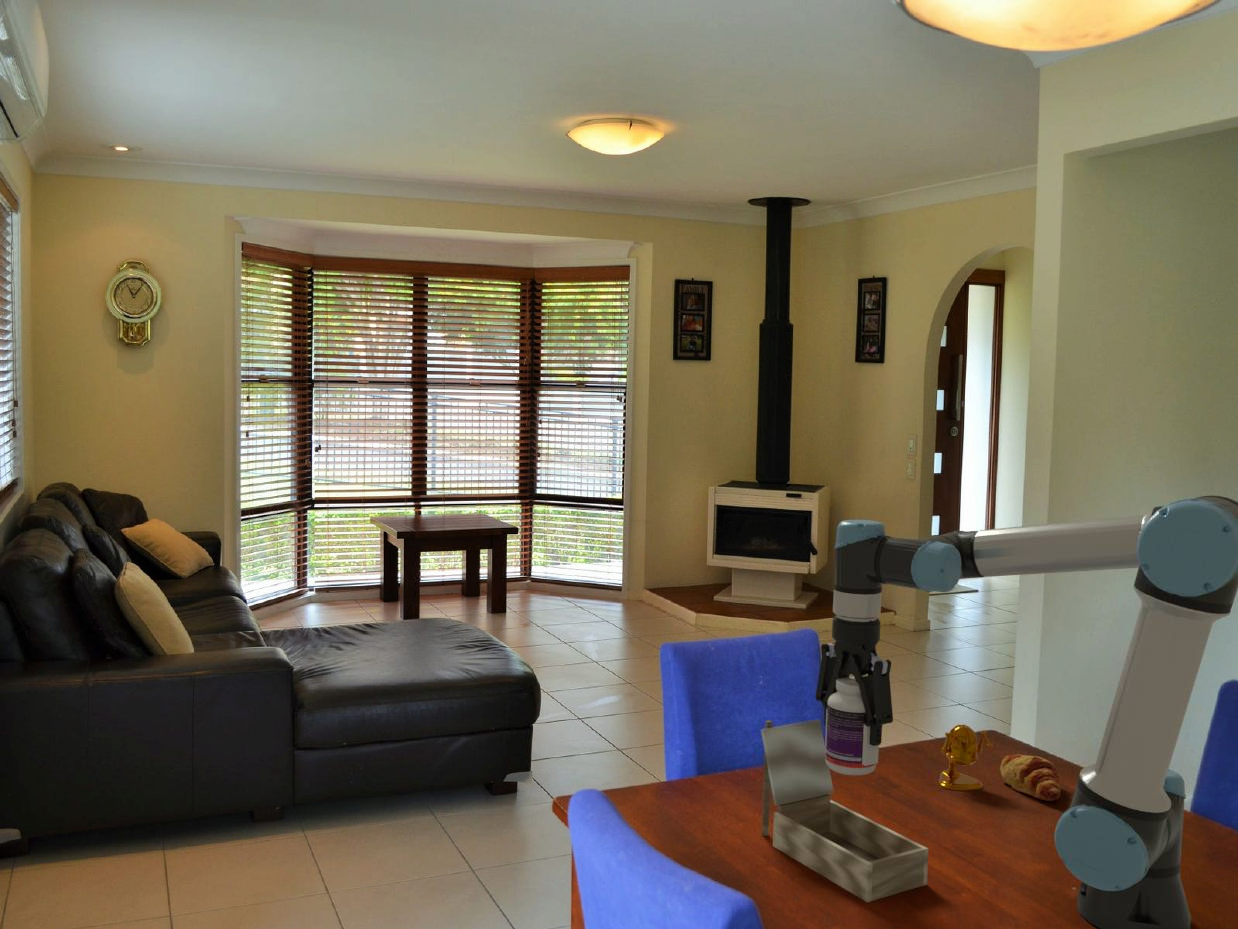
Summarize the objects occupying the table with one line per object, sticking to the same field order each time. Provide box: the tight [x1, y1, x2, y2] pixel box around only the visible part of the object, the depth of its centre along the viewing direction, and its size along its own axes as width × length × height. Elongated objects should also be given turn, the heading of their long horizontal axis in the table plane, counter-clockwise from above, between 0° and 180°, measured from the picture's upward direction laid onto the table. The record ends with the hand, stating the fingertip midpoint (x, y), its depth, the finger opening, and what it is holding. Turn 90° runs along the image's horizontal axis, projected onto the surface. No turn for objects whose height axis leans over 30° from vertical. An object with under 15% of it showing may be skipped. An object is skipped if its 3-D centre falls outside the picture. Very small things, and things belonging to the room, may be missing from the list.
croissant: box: [1000, 753, 1062, 802], centre depth 212 cm, size 21×10×8 cm, turn 6°
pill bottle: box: [825, 676, 877, 776], centre depth 174 cm, size 8×8×14 cm
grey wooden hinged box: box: [760, 718, 929, 903], centre depth 177 cm, size 28×13×20 cm, turn 31°
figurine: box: [938, 724, 994, 792], centre depth 213 cm, size 8×11×12 cm
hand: (850, 755), depth 174 cm, fingers closed on pill bottle, 8 cm apart
